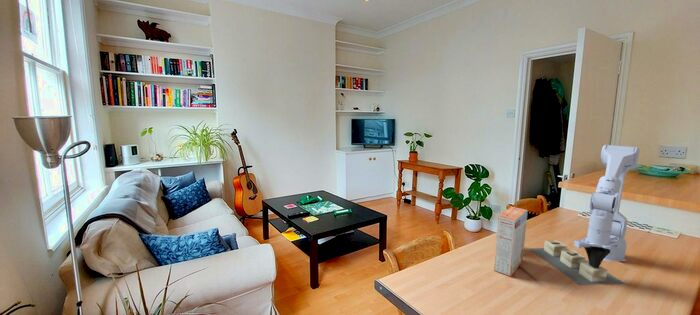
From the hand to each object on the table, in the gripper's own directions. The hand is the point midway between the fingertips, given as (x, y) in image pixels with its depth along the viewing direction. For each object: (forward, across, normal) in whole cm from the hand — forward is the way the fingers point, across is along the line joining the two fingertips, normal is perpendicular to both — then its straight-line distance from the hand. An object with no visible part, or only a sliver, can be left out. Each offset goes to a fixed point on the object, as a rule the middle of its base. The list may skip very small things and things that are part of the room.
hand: (593, 266), depth 98 cm
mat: (+4, 0, +8) cm, 10 cm away
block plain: (+4, 0, 0) cm, 4 cm away
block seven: (+4, 0, +8) cm, 9 cm away
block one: (+4, 0, +17) cm, 17 cm away
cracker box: (+5, -24, +9) cm, 26 cm away
